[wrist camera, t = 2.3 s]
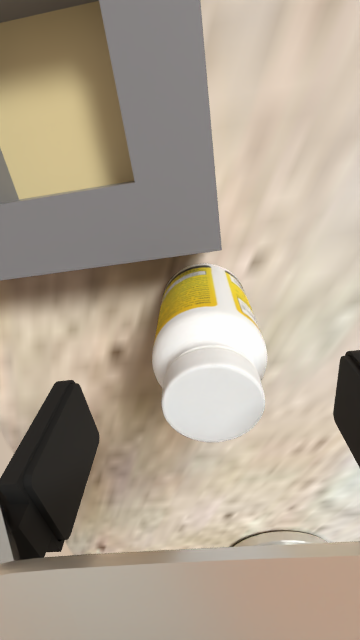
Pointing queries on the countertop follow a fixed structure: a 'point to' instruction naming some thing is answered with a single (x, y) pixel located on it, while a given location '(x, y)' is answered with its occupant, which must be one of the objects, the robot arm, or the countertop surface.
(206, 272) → the supplement bottle
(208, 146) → the socket block
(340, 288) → the countertop surface
